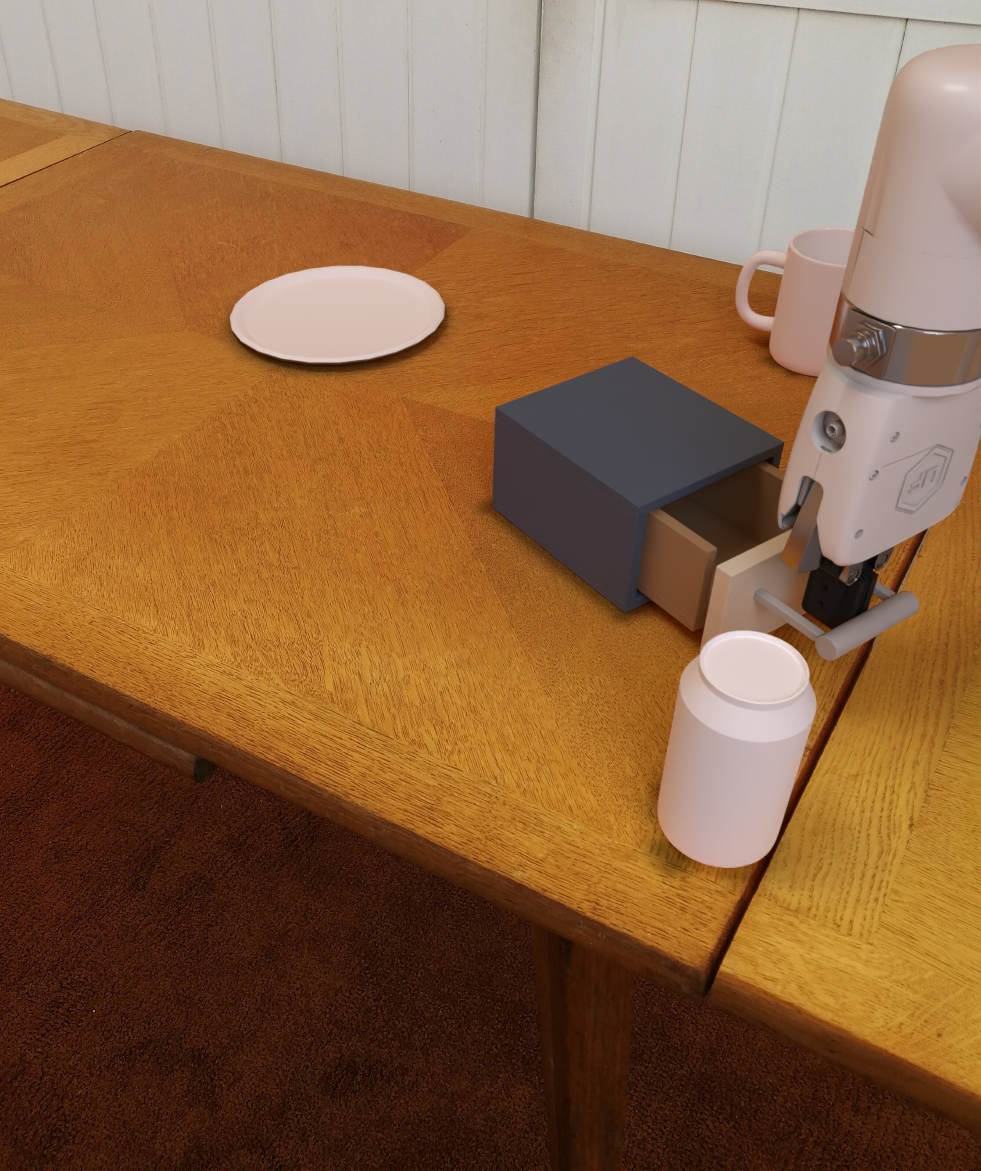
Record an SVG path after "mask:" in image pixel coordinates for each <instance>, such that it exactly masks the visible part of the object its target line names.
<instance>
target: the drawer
mask: <svg viewBox="0 0 981 1171" xmlns="http://www.w3.org/2000/svg"><path fill="white" fill-rule="evenodd" d="M784 476H785V472H784V471H783V470H781V469H777V468H776V467H774V466H772V465H771V464H769V463H767V462H765V461H761V462H759V463H757V464H755V465H753V466H750V467H748V468H746V469H744V470H741V471H739V472H737V473H735V474H732V475H730V476H728V477H726V478H724V479H721V480H719V481H717V482H715V483H712V484H710V485H708V486H706V487H703V488H701V489H699V490H697V491H695V492H692V493H690V494H688V495H686V496H683V497H681V498H679V499H677V500H674V501H672V502H670V503H668V504H666V505H663V506H661V507H659V508H657V509H654V510H652V511H650V512H648V513H647V518H646V525H645V532H644V539H643V546H642V553H641V560H640V567H639V574H638V581H637V589H638V590H639V591H641V592H642V593H643V594H644V595H646V596H647V597H648V598H650V599H651V601H652V602H654V604H656V605H657V606H659V607H660V608H661V609H662V610H664V611H665V612H666V613H667V614H669V615H670V616H672V617H673V618H674V619H675V620H677V621H678V622H679V623H681V624H682V625H683V626H684V627H686V628H687V629H688V630H690V631H691V632H696V631H697V630H700V629H702V628H703V631H702V632H703V633H702V636H701V642H700V647H699V654H700V653H701V650H702V648H703V647H704V645H705V644H706V643H707V642H708V641H709V640H710V639H712V638H713V637H715V636H717V635H720V634H722V633H726V632H730V631H740V630H746V631H756V632H761V633H765V634H769V633H771V632H774V631H775V630H777V629H779V628H781V627H782V626H784V625H786V624H789V625H790V626H791V627H793V628H794V629H795V630H797V631H798V632H800V633H801V634H802V635H804V636H805V637H807V638H808V639H809V640H811V641H812V642H814V646H815V649H816V652H817V654H818V655H819V656H820V657H821V658H822V659H823V660H826V661H828V662H833V661H836V660H837V659H839V658H841V657H842V656H844V655H846V654H847V653H849V652H851V651H853V650H855V649H856V648H858V647H860V646H861V645H864V644H865V643H866V642H869V641H870V640H872V639H873V638H875V637H877V636H879V635H881V634H882V633H885V632H886V631H887V630H890V629H891V628H892V627H894V626H896V625H898V624H900V623H901V622H903V621H905V620H908V619H909V618H911V617H912V616H914V615H916V614H917V613H918V612H919V610H920V602H919V599H918V597H917V596H916V595H915V594H914V593H912V592H911V591H908V590H901V591H899V592H897V593H896V592H895V591H893V590H892V589H890V588H888V587H887V586H885V585H884V584H882V582H881V583H880V582H879V581H877V582H876V585H875V588H874V592H873V595H872V596H874V597H875V598H877V599H878V600H881V602H879V603H878V604H875V605H874V606H872V607H870V608H868V610H867V611H865V612H863V613H861V614H859V615H857V616H856V617H854V618H852V619H850V620H848V621H847V622H845V623H843V624H841V625H839V626H838V627H836V628H834V629H832V630H831V629H830V630H829V631H827V632H825V630H823V629H821V628H820V627H819V626H817V625H816V624H814V623H813V622H811V621H810V620H809V619H808V618H806V617H805V616H803V615H806V612H805V611H804V610H803V608H802V600H803V596H804V593H805V589H806V585H807V582H808V578H809V574H810V571H809V572H805V573H801V574H798V573H797V572H795V571H794V570H792V569H791V568H789V567H788V566H786V565H785V564H783V563H782V562H781V561H780V557H781V554H782V552H783V550H784V547H785V545H786V542H787V540H788V538H789V535H790V533H791V531H792V529H791V530H782V529H780V528H779V525H778V519H777V515H778V504H779V498H780V493H781V488H782V484H783V480H784Z"/></svg>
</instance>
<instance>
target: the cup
mask: <svg viewBox="0 0 981 1171" xmlns="http://www.w3.org/2000/svg"><path fill="white" fill-rule="evenodd" d="M854 233H855V228H848V227H838V226H837V227H836V226H826V227H824V226H823V227H813V228H809V229H804V230H802V231H799V232H797V233H795V234H794V235H792V237H791V238H790V239H789V242H788V247H787V252H784V251H779V250H775V249H774V250H773V249H764V250H759V251H757V252H755V253H754V254H752V255H751V256H750V257H749V258H748V259H747V260H746V262H745V263H744V265H743V266H742V269H741V271H740V273H739V276H738V278H737V281H736V286H735V293H734V294H735V296H734V300H735V308H736V311H737V314H738V316H739V317H740V318H741V320H742V321H743V323H746V324H747V325H748V326H750V327H752V328H753V329H756V330H759V331H762V332H767V333H770V336H769V345H768V347H769V348H768V349H769V353H770V355H771V357H772V359H773V360H774V362H776V363H777V364H778V365H779V366H781V367H783V368H784V369H786V370H789V371H790V372H794V373H797V374H800V375H803V376H809V377H817V378H818V376H819V374H820V372H821V369H822V367H823V364H824V363H825V362H826V361H828V360H829V359H828V356H827V344H828V340H829V337H830V332H831V328H832V324H833V320H834V315H835V311H836V307H837V303H838V299H839V295H840V290H841V286H842V282H843V278H844V274H845V270H846V266H847V261H848V257H849V253H850V249H851V245H852V241H853V237H854ZM762 265H767V266H771V267H774V268H775V267H776V268H779V269H783V272H782V277H781V280H780V281H781V282H780V286H779V290H778V296H777V300H776V306H775V310H774V316H767V315H763V314H762V315H761V314H758V313H756V312H755V311H753V309H752V308H751V307H750V305H749V300H748V299H749V298H748V295H749V287H750V284H751V281H752V279H753V276H754V274H755V272H756V270H757V269H758V268H759V267H760V266H762Z"/></svg>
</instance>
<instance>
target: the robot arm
mask: <svg viewBox="0 0 981 1171" xmlns="http://www.w3.org/2000/svg"><path fill="white" fill-rule="evenodd" d="M854 229H855V233H854V237H853V241H852V245H851V249H850V253H849V257H848V261H847V266H846V270H845V274H844V278H843V282H842V286H841V290H840V295H839V299H838V303H837V307H836V311H835V315H834V320H833V324H832V328H831V332H830V337H829V340H828V344H827V356H828V359H829V360H828V361H826V362H825V363H824V364H823V367H822V369H821V372H820V374H819V376H818V377H817V379H816V382H815V383H814V385H813V389H812V391H811V393H810V396H809V399H808V401H807V404H806V406H805V409H804V412H803V415H802V417H801V420H800V423H799V426H798V429H797V432H796V435H795V438H794V441H793V444H792V448H791V451H790V455H789V458H788V462H787V464H786V468H785V472H784V473H785V476H784V480H783V484H782V488H781V493H780V498H779V504H778V515H777V519H778V525H779V528H780V529H782V530H791V529H792V531H791V533H790V535H789V538H788V540H787V542H786V545H785V547H784V550H783V552H782V554H781V557H780V561H781V562H782V563H783V564H785V565H786V566H788V567H789V568H791V569H792V570H794V571H795V572H797V573H798V574H801V573H805V572H809V571H810V574H809V578H808V582H807V585H806V589H805V593H804V596H803V600H802V608H803V610H804V611H805V612H806V613H807V614H808V615H809V616H811V617H812V618H813V619H815V620H817V622H819V623H820V624H822V625H824V626H825V627H826V628H828V629H830V630H832V629H834V628H836V627H838V626H839V625H841V624H843V623H845V622H847V621H848V620H850V619H852V618H854V617H856V616H857V615H859V614H861V613H863V612H865V611H867V610H868V609H869V607H870V605H871V601H872V598H873V596H874V595H873V592H874V588H875V585H876V582H878V579H879V576H880V575H879V574H878V573H877V572H878V571H881V570H882V569H884V568H885V566H887V564H888V563H889V561H890V558H891V556H892V554H893V552H894V549H895V547H896V546H898V545H899V544H902V543H903V542H905V541H906V540H907V541H908V540H909V539H910V538H913V537H915V536H916V535H918V534H920V533H921V532H924V531H926V530H927V529H929V528H931V527H933V526H935V525H936V524H938V523H940V522H941V521H943V520H945V519H946V518H948V517H949V516H950V515H951V514H952V513H953V512H955V510H956V509H957V508H958V506H959V505H960V502H961V500H962V497H963V495H964V492H965V489H966V486H967V484H968V480H969V477H970V474H971V472H972V468H973V464H974V461H975V458H976V455H977V452H978V449H979V445H980V441H981V43H968V44H967V43H965V44H954V45H947V46H941V47H937V48H934V49H930V50H925V51H924V52H921V53H919V54H917V55H916V56H914V57H912V58H911V59H910V60H908V61H907V62H906V63H905V64H904V65H903V66H902V67H901V68H900V69H899V71H898V72H897V74H896V76H895V77H894V79H893V81H892V83H891V85H890V87H889V90H888V94H887V97H886V101H885V104H884V107H883V112H882V116H881V120H880V124H879V128H878V133H877V136H876V141H875V145H874V150H873V154H872V158H871V162H870V166H869V170H868V174H867V179H866V184H865V187H864V191H863V196H862V200H861V204H860V208H859V212H858V216H857V220H856V225H855V228H854ZM876 571H877V572H876ZM806 613H805V614H806Z"/></svg>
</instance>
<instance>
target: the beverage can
mask: <svg viewBox="0 0 981 1171" xmlns="http://www.w3.org/2000/svg"><path fill="white" fill-rule="evenodd" d="M810 676H811V674H810V667H809V665H808V662H807V661H806V659H805V658H804V657H803V655H802V654H801V653H800V651H798V650H797V649H796V648H795V647H794V646H793V645H791V644H790V643H788V642H787V641H785V640H783V639H781V638H779V637H777V636H774V635H772V634H769V633H768V634H765V633H761V632H756V631H746V630H740V631H730V632H726V633H722V634H720V635H717V636H715V637H713V638H712V639H710V640H709V641H708V642H707V643H706V644H705V645H704V647H703V648H702V650H701V653H700V652H699V654H698V655H697V656H695V657H694V658H693V659H692V660H691V661H690V662H689V663H688V664H687V665H686V666H685V667H684V669H683V671H682V673H681V676H680V680H679V684H678V690H677V695H676V699H675V706H674V712H673V716H672V722H671V726H670V727H671V728H670V733H669V738H668V744H667V750H666V755H665V760H664V765H663V770H662V776H661V782H660V787H659V793H658V799H657V808H656V809H657V810H656V812H657V820H658V824H659V826H660V829H661V831H662V833H663V834H664V836H665V838H666V839H667V841H668V842H669V843H670V844H671V845H672V846H673V847H674V848H675V849H677V851H679V852H681V854H683V855H684V856H686V857H687V858H689V859H691V860H693V861H696V862H697V863H700V864H703V865H706V866H710V867H715V868H721V869H722V868H724V869H734V868H741V867H747V866H749V865H751V864H754V863H756V862H758V861H760V860H762V859H763V858H764V857H765V856H767V855H768V854H769V853H770V851H771V850H772V849H773V847H774V845H775V843H776V841H777V840H778V839H777V838H778V836H779V833H780V830H781V827H782V824H783V821H784V817H785V814H786V811H787V807H788V804H789V801H790V798H791V795H792V791H793V790H794V789H793V788H794V785H795V782H796V779H797V776H798V771H799V768H800V765H801V762H802V758H803V755H804V754H805V753H804V752H805V750H806V746H807V743H808V740H809V736H810V733H811V729H812V727H813V724H814V719H815V717H816V712H817V708H818V707H817V705H818V704H817V698H816V694H815V691H814V689H813V686H812V684H811V682H810Z"/></svg>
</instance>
